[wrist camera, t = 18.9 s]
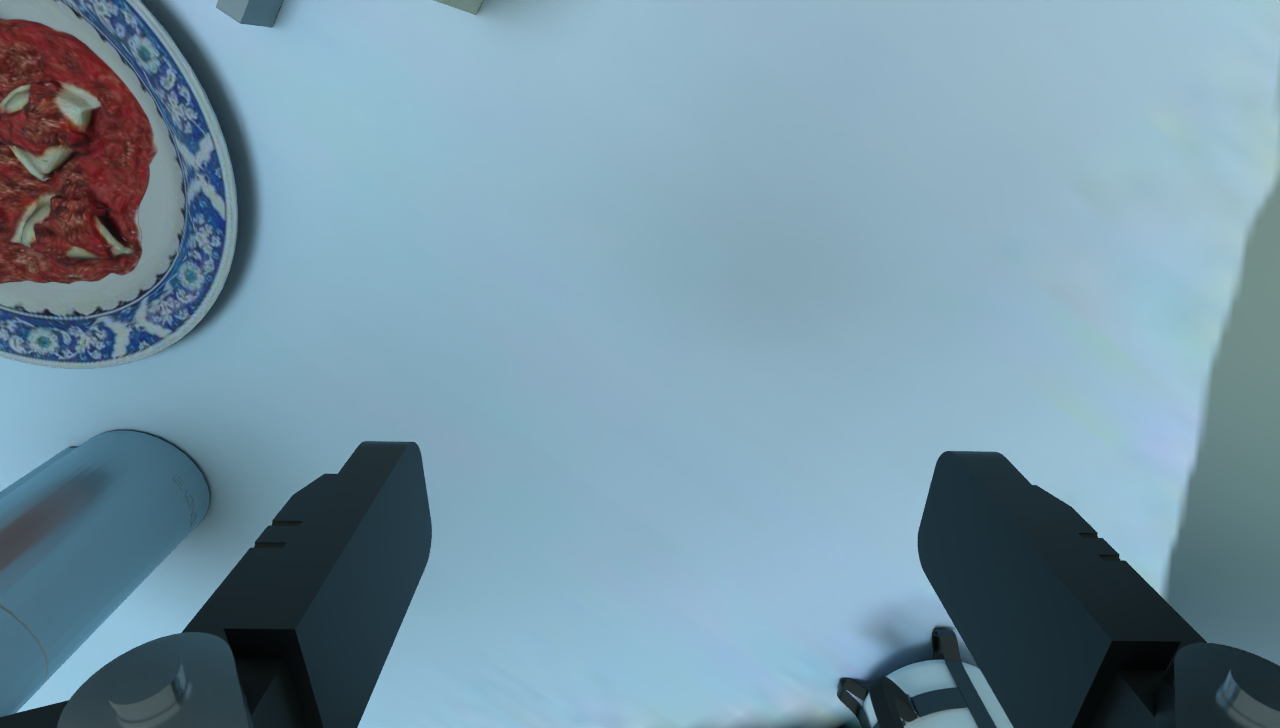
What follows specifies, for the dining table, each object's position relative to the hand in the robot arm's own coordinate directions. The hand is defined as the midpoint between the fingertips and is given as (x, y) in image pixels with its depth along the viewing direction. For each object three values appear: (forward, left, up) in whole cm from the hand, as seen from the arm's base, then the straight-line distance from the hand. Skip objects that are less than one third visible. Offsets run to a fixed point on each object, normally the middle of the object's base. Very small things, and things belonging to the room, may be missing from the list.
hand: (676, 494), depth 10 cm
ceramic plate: (-36, +1, -31) cm, 47 cm away
